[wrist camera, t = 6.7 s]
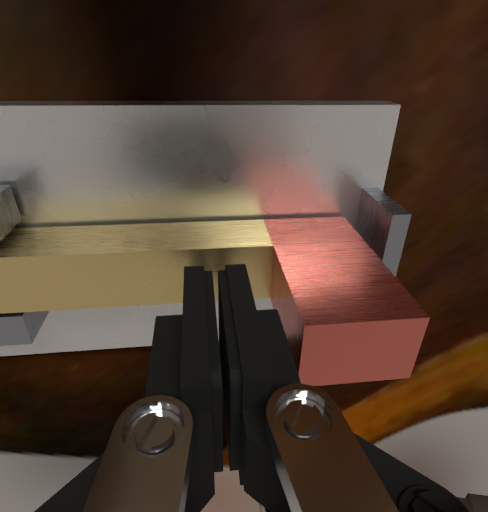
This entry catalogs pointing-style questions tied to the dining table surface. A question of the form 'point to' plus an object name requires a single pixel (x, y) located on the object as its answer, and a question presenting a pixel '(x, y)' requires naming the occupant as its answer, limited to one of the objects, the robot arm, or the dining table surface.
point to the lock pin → (215, 258)
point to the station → (186, 184)
